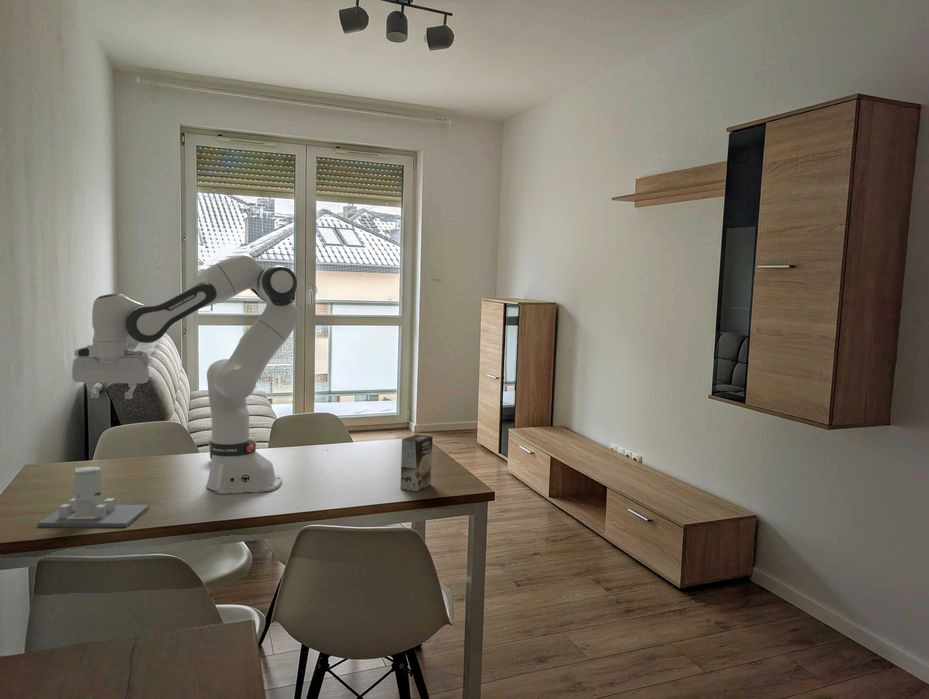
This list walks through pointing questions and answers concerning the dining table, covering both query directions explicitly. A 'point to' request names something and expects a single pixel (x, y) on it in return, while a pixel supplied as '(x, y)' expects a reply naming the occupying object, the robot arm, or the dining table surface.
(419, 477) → the coffee box
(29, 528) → the dining table surface
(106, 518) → the board
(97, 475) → the skincare box
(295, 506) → the dining table surface
